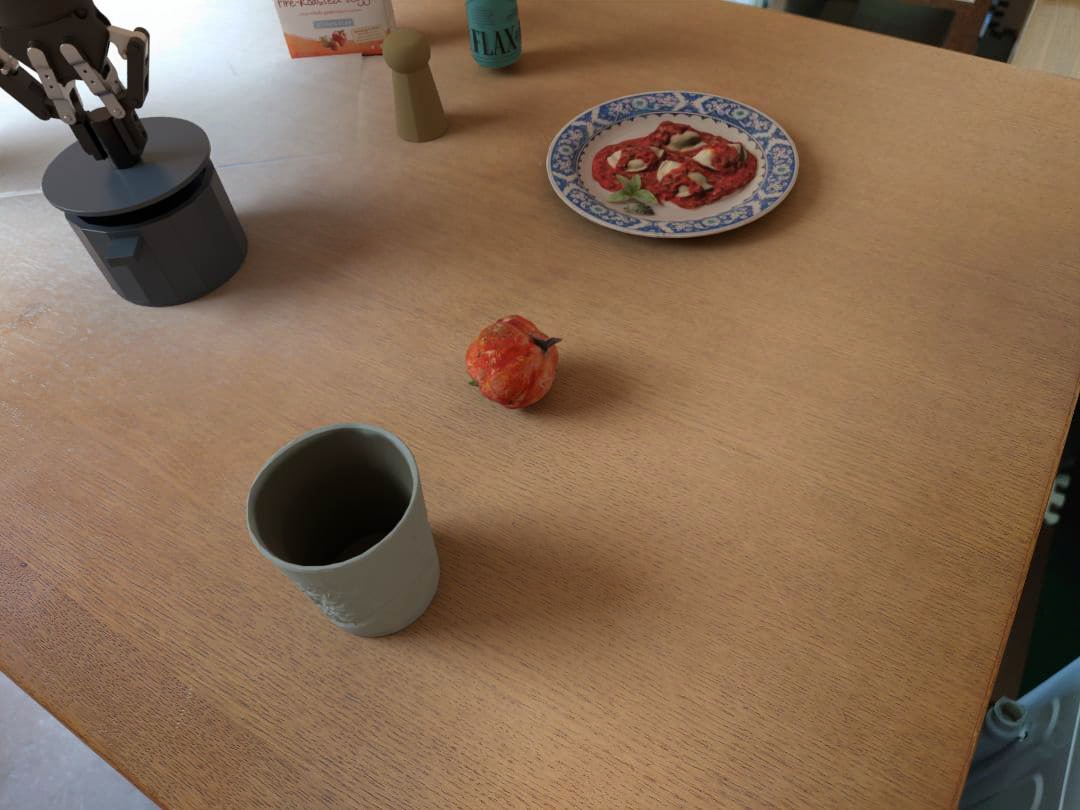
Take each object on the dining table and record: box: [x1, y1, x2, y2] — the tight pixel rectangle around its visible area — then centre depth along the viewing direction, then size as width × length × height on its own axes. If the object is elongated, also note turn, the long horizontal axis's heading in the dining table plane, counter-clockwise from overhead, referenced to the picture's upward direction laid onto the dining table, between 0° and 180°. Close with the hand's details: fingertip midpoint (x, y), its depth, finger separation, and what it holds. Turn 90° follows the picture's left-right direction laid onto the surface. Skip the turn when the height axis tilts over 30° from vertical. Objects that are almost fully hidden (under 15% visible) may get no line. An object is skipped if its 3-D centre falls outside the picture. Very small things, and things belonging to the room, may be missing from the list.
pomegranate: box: [464, 314, 563, 410], centre depth 62 cm, size 7×7×10 cm
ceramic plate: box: [545, 90, 800, 239], centre depth 81 cm, size 26×26×3 cm
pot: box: [63, 157, 249, 308], centre depth 75 cm, size 14×19×9 cm
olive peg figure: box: [382, 27, 449, 143], centre depth 87 cm, size 6×6×11 cm
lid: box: [41, 106, 212, 217], centre depth 68 cm, size 15×15×6 cm
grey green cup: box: [245, 421, 441, 638], centre depth 50 cm, size 10×10×12 cm
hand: (121, 152), depth 69 cm, fingers closed on lid, 2 cm apart
